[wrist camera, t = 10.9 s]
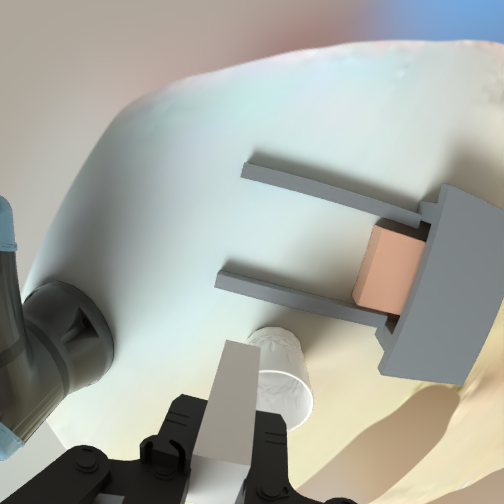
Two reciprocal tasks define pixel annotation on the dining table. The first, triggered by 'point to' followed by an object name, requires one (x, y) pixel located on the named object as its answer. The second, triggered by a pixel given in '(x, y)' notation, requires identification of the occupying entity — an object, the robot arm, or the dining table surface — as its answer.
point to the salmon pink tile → (388, 270)
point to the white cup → (282, 376)
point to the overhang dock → (424, 285)
